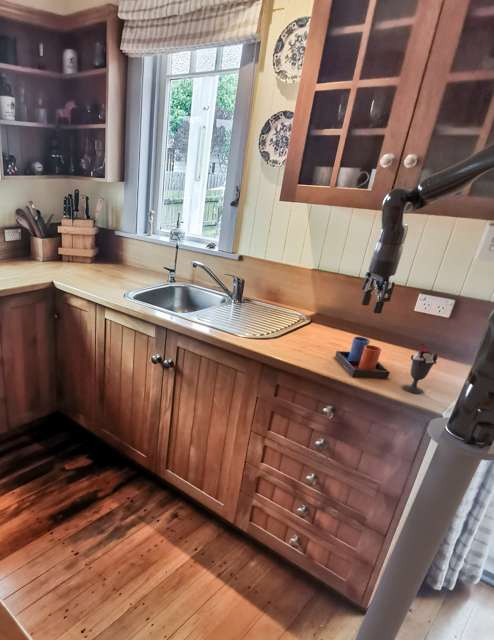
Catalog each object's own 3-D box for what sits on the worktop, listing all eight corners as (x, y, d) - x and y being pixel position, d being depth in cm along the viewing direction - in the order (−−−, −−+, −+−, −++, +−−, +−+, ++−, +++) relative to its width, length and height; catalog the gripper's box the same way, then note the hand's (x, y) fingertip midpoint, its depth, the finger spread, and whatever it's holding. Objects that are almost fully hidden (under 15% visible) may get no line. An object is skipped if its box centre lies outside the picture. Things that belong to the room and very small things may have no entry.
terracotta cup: (376, 374, 148) (384, 351, 144) (361, 373, 148) (368, 350, 144) (369, 368, 152) (377, 345, 148) (355, 367, 152) (362, 344, 149)
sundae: (396, 388, 141) (412, 342, 135) (406, 382, 145) (422, 338, 138) (419, 397, 137) (437, 350, 130) (428, 391, 140) (446, 345, 134)
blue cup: (365, 364, 154) (372, 342, 151) (350, 363, 154) (357, 341, 151) (359, 358, 159) (366, 337, 155) (345, 357, 159) (351, 336, 155)
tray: (387, 379, 147) (389, 371, 146) (352, 377, 147) (354, 369, 146) (366, 359, 160) (368, 352, 159) (334, 357, 160) (336, 350, 159)
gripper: (410, 263, 135) (393, 316, 142) (387, 254, 148) (372, 303, 155) (384, 262, 135) (368, 315, 142) (363, 252, 148) (349, 301, 155)
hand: (370, 309), depth 149 cm, fingers open, 8 cm apart
